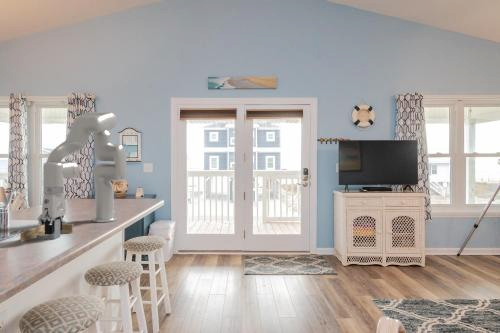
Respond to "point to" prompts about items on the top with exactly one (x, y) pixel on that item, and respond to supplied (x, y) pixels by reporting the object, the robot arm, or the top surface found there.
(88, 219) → the top surface
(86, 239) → the top surface
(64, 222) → the hinge
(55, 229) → the bracket
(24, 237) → the wooden corner frame
